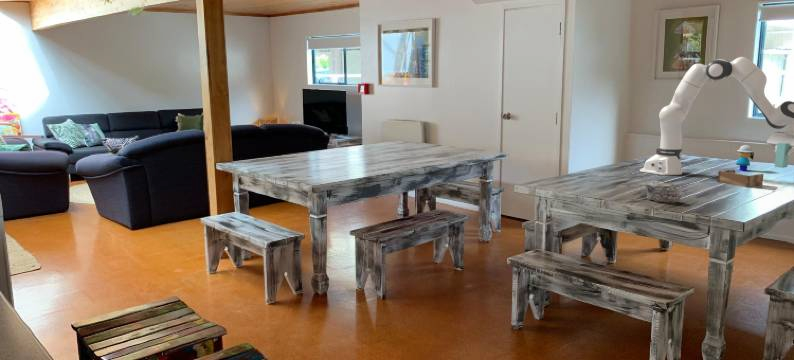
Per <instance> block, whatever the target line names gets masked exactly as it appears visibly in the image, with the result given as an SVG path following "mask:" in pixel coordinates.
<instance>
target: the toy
mask: <svg viewBox="0 0 794 360" xmlns="http://www.w3.org/2000/svg"><path fill="white" fill-rule="evenodd" d="M736 151H737V152H738V156H739V158H738V159H737V161H736V164H735V165H737V166H739V171H740V172H747V171H748V166H751V163H750V159H751V160H754V156H755V155H754V154H755V150H753V149H752V147H751V146H750V145H748V144H744V145H741V146H740V147H739V149H737V150H736ZM749 158H750V159H749Z"/></svg>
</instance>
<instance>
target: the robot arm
mask: <svg viewBox="0 0 794 360" xmlns="http://www.w3.org/2000/svg"><path fill="white" fill-rule="evenodd" d="M728 77H733V78H735V79H736V80H737V81H738V82H739V83H740V84H741V86H743V88H744V89H745V90H746V93H747V95H748V97H749V98H750V100H751V101H752V102H753V104H754V105H755V107H756V108H757V109H758V110H759V112H761V114H762V115H763V117H764V119H765V122H766V123H767V125H769V127H770V128H773V129H776V130H781V129H784V128H785V127H786V126H787V125H788V126H787V127H786V129H785V131H776V132H773V133H772V134H771V135H770V136H769V138H768V139H767V140H766V144H767V147H769V148H775V150H774V154H775V155H776V149H777V143H790V145H789V146H790V148H789V151H786V153H785V154H786V155H787V156H789V157H790V156H791V154H792V153H794V101H791V100H788V101H787V100H786V101H784V102H782V103H780V105H778V106H777V107H774V105H773V104H772V103H771V101H770V100H769V99H768V98H767V96H766V95H765V87H766V85H767V80H768V79H767V78H768V77H767V75H766V73H765V72H764V71H763V70H762V69H761V68H760V67H759V66H758V65H756V64H755V63H754V62H753V61H752V60H750V59H748V58H746V57H744V56H740V57H737V58H735V59H733V60H732V61H730V60H728V59H725V58H717V59H714V60H712V61H710V62H709V63H708V64H706V65H705V64H703V63H694V64H692V66H690V68H689V69H688V70H687V71H686V73H685V74H684V76H683V78H682V79H681V81H680V82H679V84H678V85H677V87H676V89H675V91H674V94H673V97H672V99H671V101H670V102H669V104H668V105H665V106H663V107H662V108H661V110H660V111H659V115H658V117H659V127H660V142H659V143H660V144H659V145H660V146H659V147H658V148H657V149H655V154H654V155H652V156H651V157H649V158H648V159H646V161H645V163H644V166H643V167H642V168H640V169H639V172H641V173H647V174H648V173H649V174H655V175H661V176H670V175H671V176H676V175H677V176H678V175H682V174H683V171H682V162H681V161H682V160H681V159H682V155H683V149H682V144H683V143H682V142H683V133H682V122H683V121H684V120H686V118H687V115H688V113H689V112H690V110H691V108H692V106H693V103H694V101H695V100H696V98H697V96H698V95H699V93H700V91H701V90H702V88H703V86H704V84H705V83H706V82H707V81H708V80H709V79H710V80H712V81H721V80H725V79H726V78H728Z"/></svg>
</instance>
